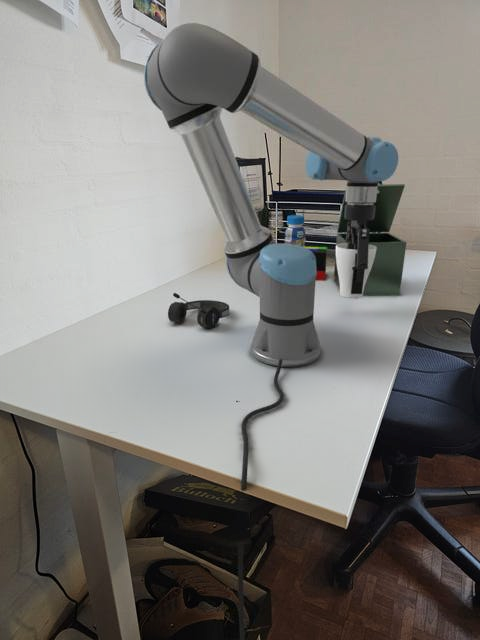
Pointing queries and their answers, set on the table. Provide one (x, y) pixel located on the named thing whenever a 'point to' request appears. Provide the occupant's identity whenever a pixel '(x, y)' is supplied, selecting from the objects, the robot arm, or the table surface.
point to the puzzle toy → (320, 261)
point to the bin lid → (378, 208)
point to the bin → (382, 264)
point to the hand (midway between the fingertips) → (351, 287)
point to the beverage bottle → (295, 230)
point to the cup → (344, 267)
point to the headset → (205, 316)
